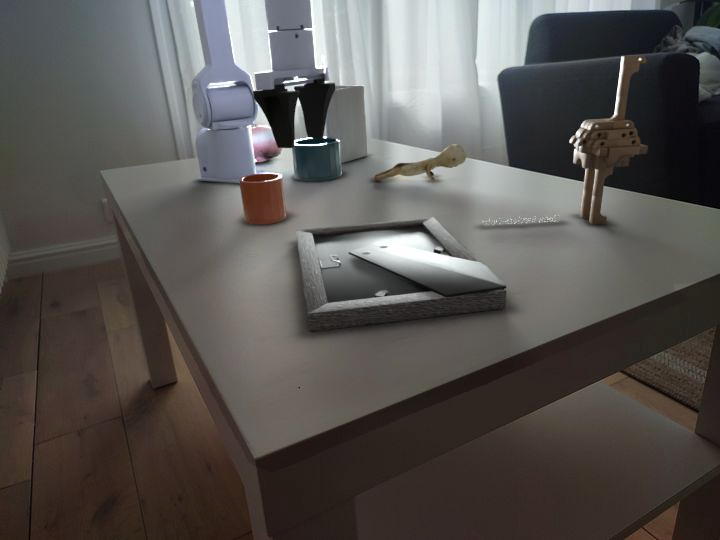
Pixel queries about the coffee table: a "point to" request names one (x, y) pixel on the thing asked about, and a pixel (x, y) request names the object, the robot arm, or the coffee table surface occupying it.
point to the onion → (264, 143)
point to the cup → (263, 198)
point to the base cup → (317, 159)
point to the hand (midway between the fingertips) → (301, 142)
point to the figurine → (427, 164)
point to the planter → (347, 120)
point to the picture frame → (390, 274)
